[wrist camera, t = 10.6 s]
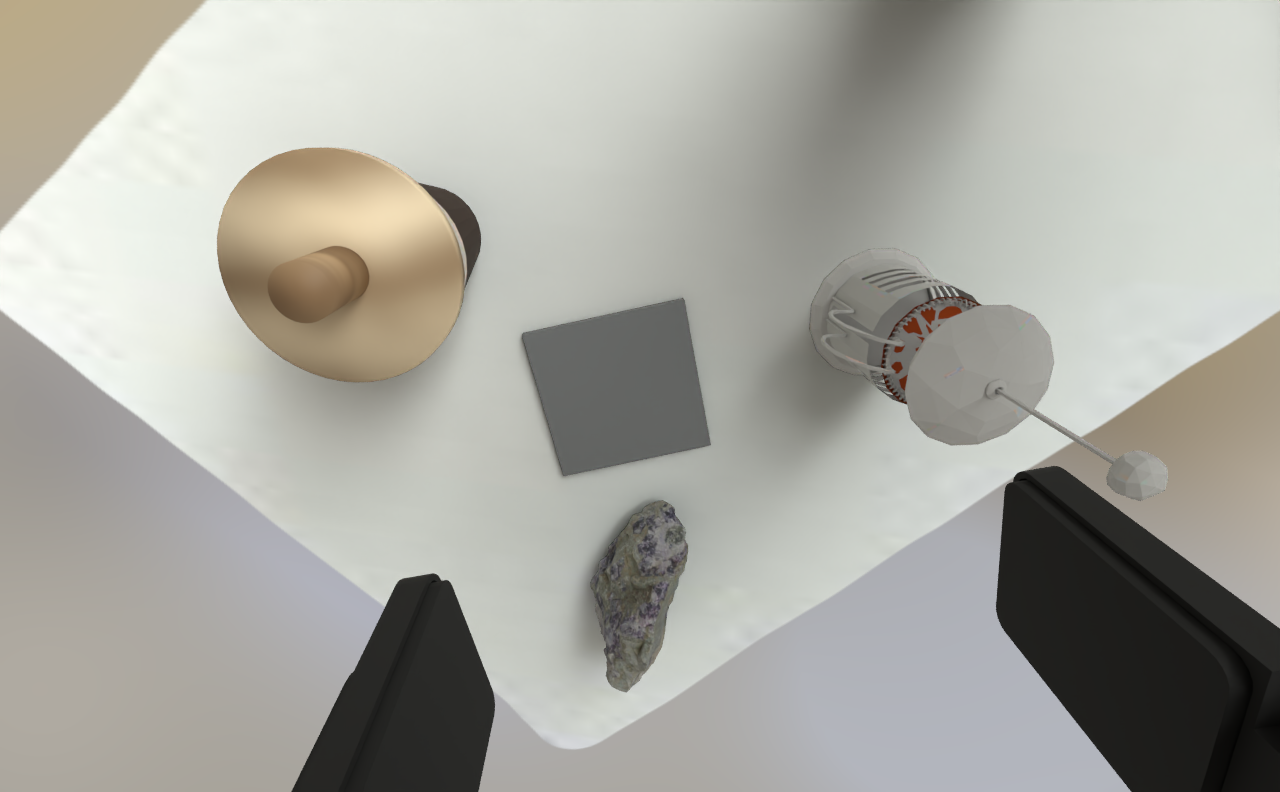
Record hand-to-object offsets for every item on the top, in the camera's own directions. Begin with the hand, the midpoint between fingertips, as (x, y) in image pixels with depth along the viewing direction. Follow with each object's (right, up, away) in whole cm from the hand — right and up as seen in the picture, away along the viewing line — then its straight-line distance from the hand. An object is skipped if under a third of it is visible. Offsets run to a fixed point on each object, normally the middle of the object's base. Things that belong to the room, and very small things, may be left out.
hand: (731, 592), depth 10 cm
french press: (+15, +10, +35) cm, 39 cm away
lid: (-17, +10, +22) cm, 30 cm away
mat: (-3, +4, +36) cm, 36 cm away
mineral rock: (-1, -11, +43) cm, 44 cm away
